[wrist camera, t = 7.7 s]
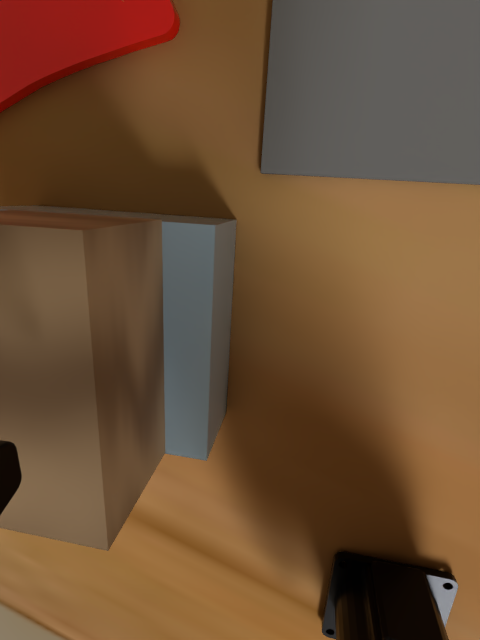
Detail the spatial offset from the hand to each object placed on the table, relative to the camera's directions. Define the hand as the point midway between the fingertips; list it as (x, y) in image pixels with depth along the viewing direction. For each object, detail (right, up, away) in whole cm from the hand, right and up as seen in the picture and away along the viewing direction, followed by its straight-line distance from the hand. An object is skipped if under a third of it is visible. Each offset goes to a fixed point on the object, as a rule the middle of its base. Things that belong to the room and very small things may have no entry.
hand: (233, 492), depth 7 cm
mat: (+6, +14, +7) cm, 17 cm away
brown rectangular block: (-6, +2, +9) cm, 11 cm away
